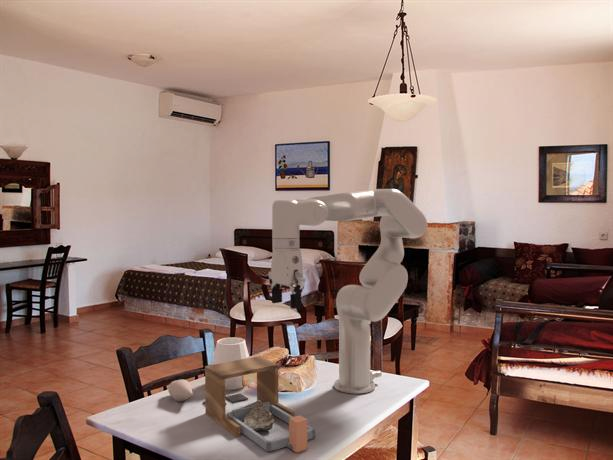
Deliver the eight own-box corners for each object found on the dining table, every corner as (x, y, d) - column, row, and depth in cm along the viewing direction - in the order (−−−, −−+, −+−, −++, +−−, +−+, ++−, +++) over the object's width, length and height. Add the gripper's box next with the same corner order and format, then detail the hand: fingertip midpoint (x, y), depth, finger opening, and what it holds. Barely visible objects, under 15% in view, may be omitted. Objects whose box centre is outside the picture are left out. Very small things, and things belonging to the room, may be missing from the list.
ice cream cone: (192, 410, 151) (173, 402, 163) (207, 392, 154) (187, 386, 166) (177, 395, 149) (159, 389, 162) (192, 378, 152) (173, 372, 165)
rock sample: (225, 412, 140) (251, 389, 141) (240, 423, 145) (265, 400, 146) (243, 443, 132) (271, 417, 133) (258, 453, 138) (285, 428, 139)
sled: (272, 411, 150) (272, 386, 149) (324, 443, 130) (325, 414, 130) (228, 422, 142) (228, 396, 142) (277, 458, 122) (277, 427, 122)
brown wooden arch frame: (247, 392, 165) (247, 350, 164) (294, 420, 144) (294, 372, 143) (194, 405, 155) (193, 359, 154) (236, 436, 134) (236, 384, 134)
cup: (225, 395, 163) (225, 348, 162) (201, 384, 173) (200, 340, 172) (261, 385, 172) (261, 341, 171) (236, 375, 182) (236, 333, 181)
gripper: (315, 245, 148) (315, 308, 149) (280, 241, 162) (280, 299, 163) (291, 247, 144) (291, 312, 145) (258, 243, 158) (258, 302, 159)
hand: (286, 305), depth 154 cm, fingers open, 9 cm apart
